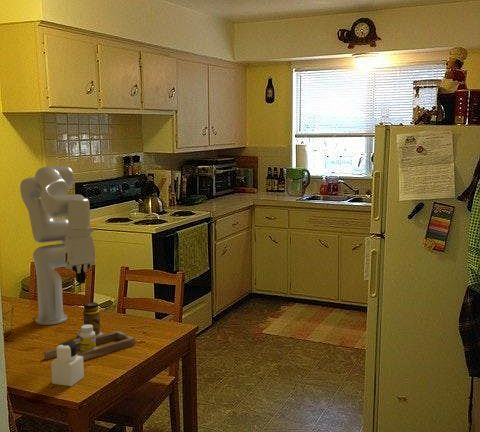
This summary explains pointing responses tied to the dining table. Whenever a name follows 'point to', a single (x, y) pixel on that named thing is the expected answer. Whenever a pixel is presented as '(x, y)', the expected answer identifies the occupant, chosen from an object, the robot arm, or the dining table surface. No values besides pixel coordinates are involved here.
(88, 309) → the condiment
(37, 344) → the dining table surface
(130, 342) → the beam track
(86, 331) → the supplement bottle
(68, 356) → the white stacked blocks
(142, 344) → the dining table surface
